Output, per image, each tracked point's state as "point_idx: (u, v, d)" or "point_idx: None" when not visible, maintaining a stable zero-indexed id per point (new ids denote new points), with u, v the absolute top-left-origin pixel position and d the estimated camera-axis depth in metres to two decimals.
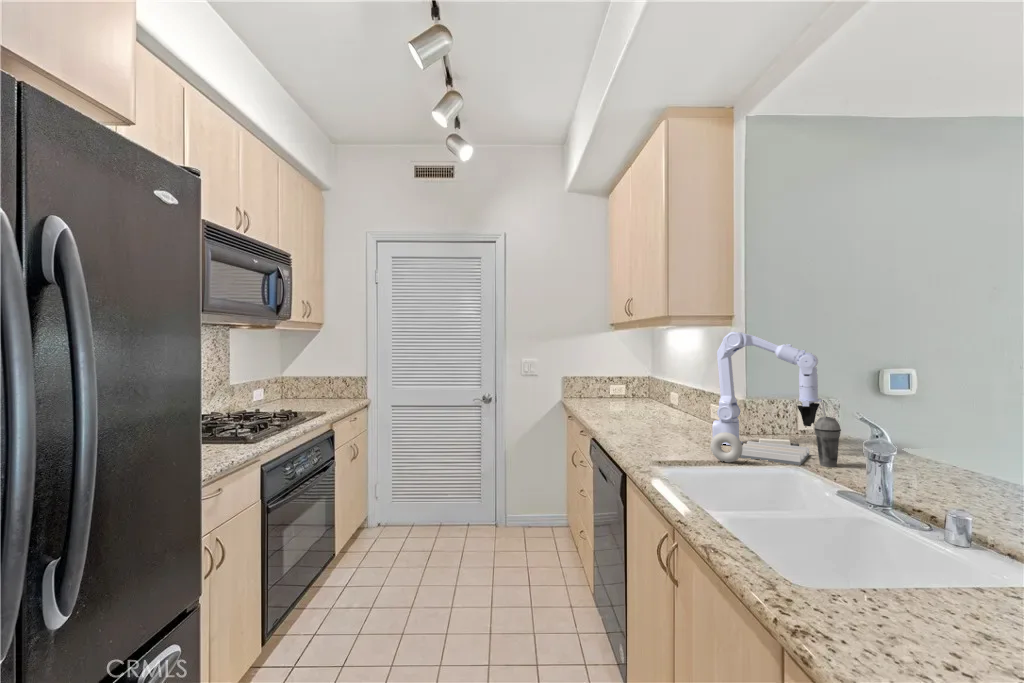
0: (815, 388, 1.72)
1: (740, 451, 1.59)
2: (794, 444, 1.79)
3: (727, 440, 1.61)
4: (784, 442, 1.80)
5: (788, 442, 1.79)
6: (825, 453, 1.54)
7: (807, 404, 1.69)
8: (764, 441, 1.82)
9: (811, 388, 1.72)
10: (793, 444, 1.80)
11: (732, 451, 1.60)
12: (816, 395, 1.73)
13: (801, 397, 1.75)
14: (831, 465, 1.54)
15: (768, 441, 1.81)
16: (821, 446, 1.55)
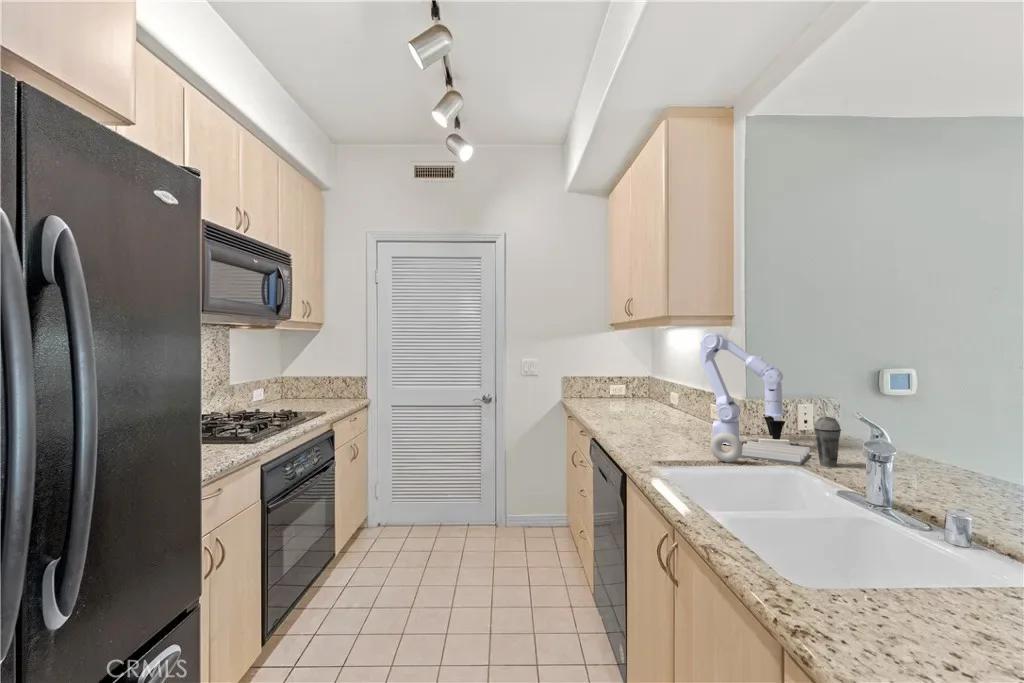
0: (781, 402, 1.80)
1: (740, 451, 1.59)
2: (794, 444, 1.80)
3: (727, 440, 1.61)
4: (784, 442, 1.80)
5: (788, 442, 1.79)
6: (825, 453, 1.54)
7: (779, 418, 1.75)
8: (764, 441, 1.82)
9: (778, 402, 1.79)
10: (793, 444, 1.80)
11: (732, 451, 1.60)
12: (782, 409, 1.80)
13: (769, 411, 1.81)
14: (831, 465, 1.54)
15: (768, 441, 1.81)
16: (821, 446, 1.55)
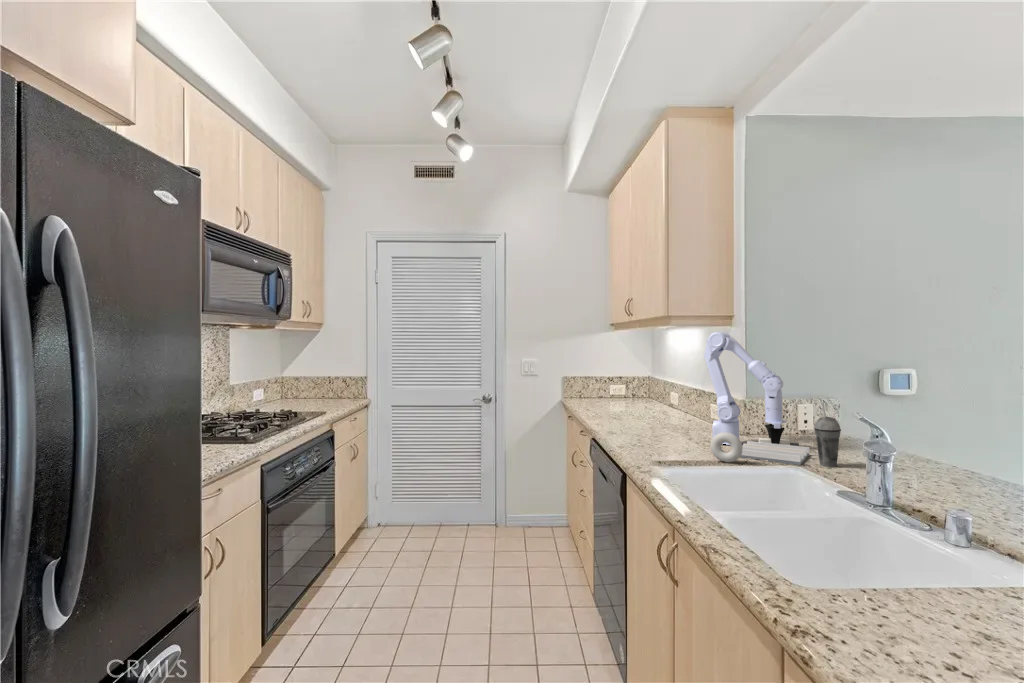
0: (781, 410, 1.80)
1: (740, 451, 1.59)
2: (794, 443, 1.80)
3: (727, 440, 1.61)
4: (784, 441, 1.80)
5: (788, 441, 1.79)
6: (825, 453, 1.54)
7: (779, 426, 1.75)
8: (764, 440, 1.82)
9: (778, 410, 1.79)
10: (793, 443, 1.80)
11: (732, 451, 1.60)
12: (782, 416, 1.80)
13: (769, 419, 1.81)
14: (831, 465, 1.54)
15: (768, 440, 1.81)
16: (821, 446, 1.55)
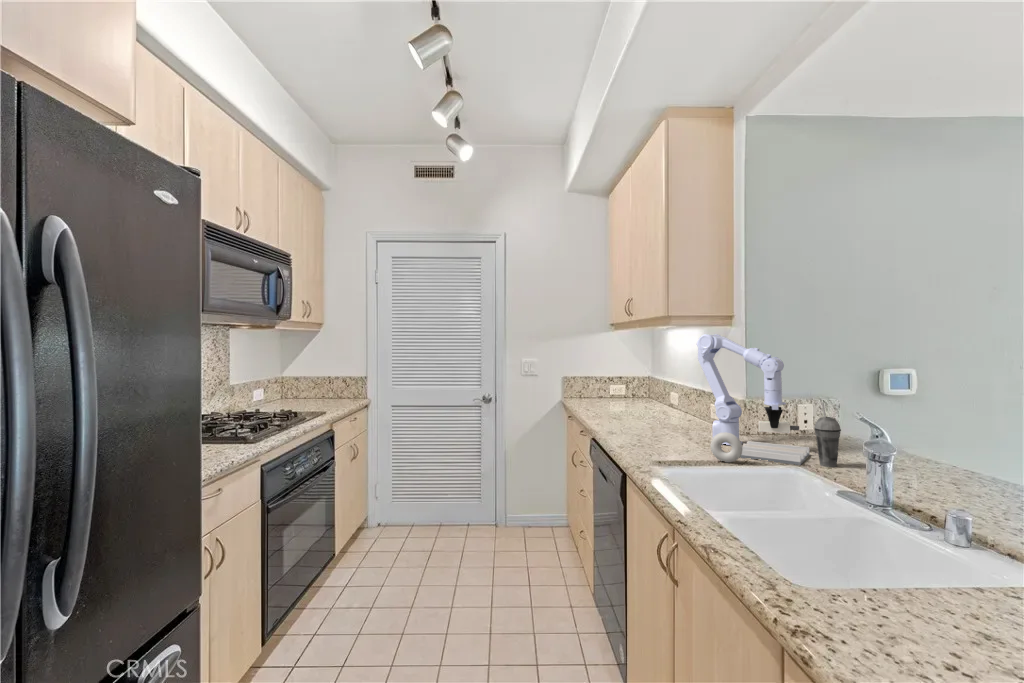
0: (780, 391, 1.77)
1: (740, 451, 1.59)
2: (794, 426, 1.77)
3: (727, 440, 1.61)
4: (783, 424, 1.77)
5: (788, 424, 1.76)
6: (825, 453, 1.54)
7: (777, 407, 1.73)
8: (763, 423, 1.80)
9: (777, 392, 1.77)
10: (793, 426, 1.77)
11: (732, 451, 1.60)
12: (781, 398, 1.78)
13: (767, 401, 1.79)
14: (831, 465, 1.54)
15: (767, 423, 1.79)
16: (821, 446, 1.55)
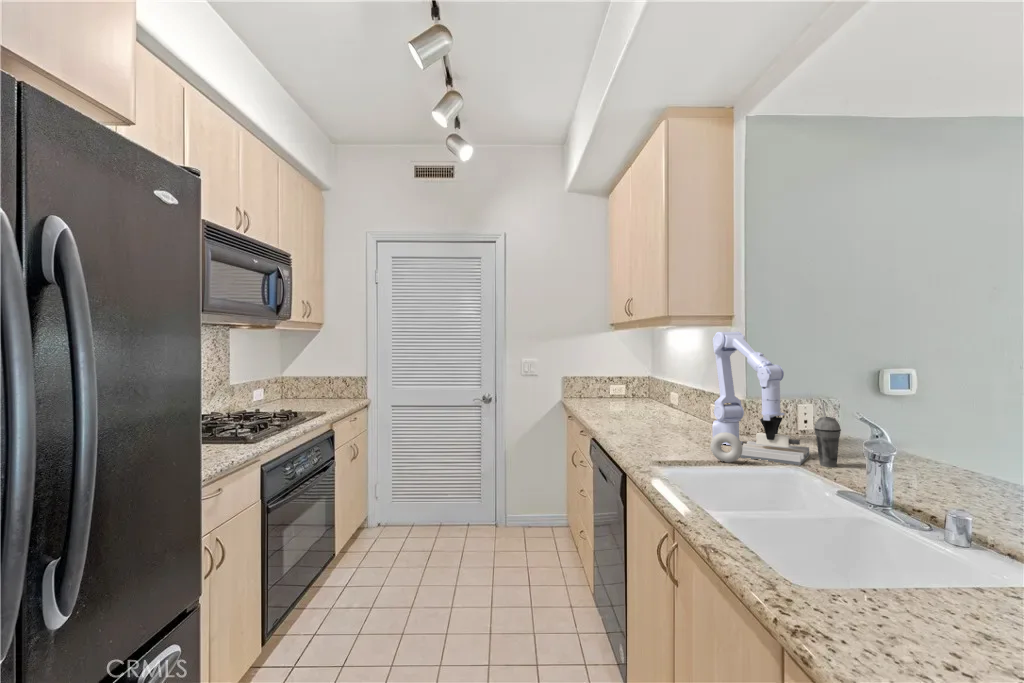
0: (777, 401, 1.68)
1: (740, 451, 1.59)
2: (793, 440, 1.65)
3: (727, 440, 1.61)
4: (781, 437, 1.67)
5: (786, 438, 1.66)
6: (825, 453, 1.54)
7: (768, 418, 1.64)
8: (760, 435, 1.71)
9: (773, 401, 1.67)
10: (792, 440, 1.66)
11: (732, 451, 1.60)
12: (778, 409, 1.68)
13: (763, 410, 1.70)
14: (831, 465, 1.54)
15: (764, 435, 1.70)
16: (821, 446, 1.55)
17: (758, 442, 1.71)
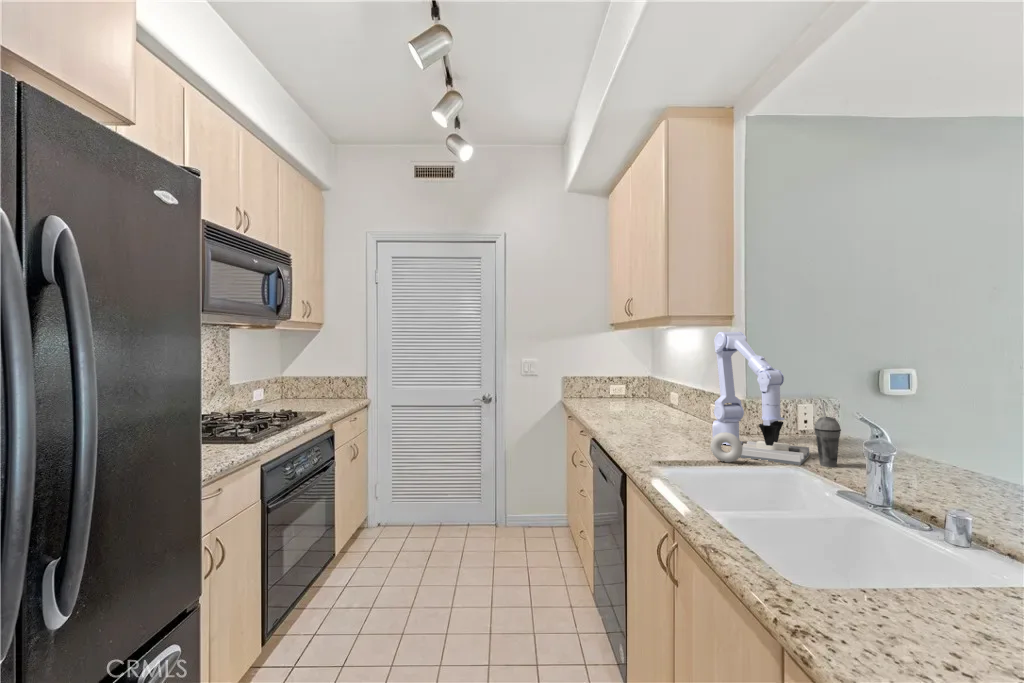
0: (777, 406, 1.68)
1: (740, 451, 1.59)
2: (793, 449, 1.65)
3: (727, 440, 1.61)
4: (781, 446, 1.67)
5: (786, 446, 1.66)
6: (825, 453, 1.54)
7: (768, 423, 1.64)
8: (760, 444, 1.71)
9: (773, 406, 1.67)
10: (792, 449, 1.65)
11: (732, 451, 1.60)
12: (778, 413, 1.68)
13: (763, 415, 1.70)
14: (831, 465, 1.54)
15: (764, 444, 1.70)
16: (821, 446, 1.55)
17: None
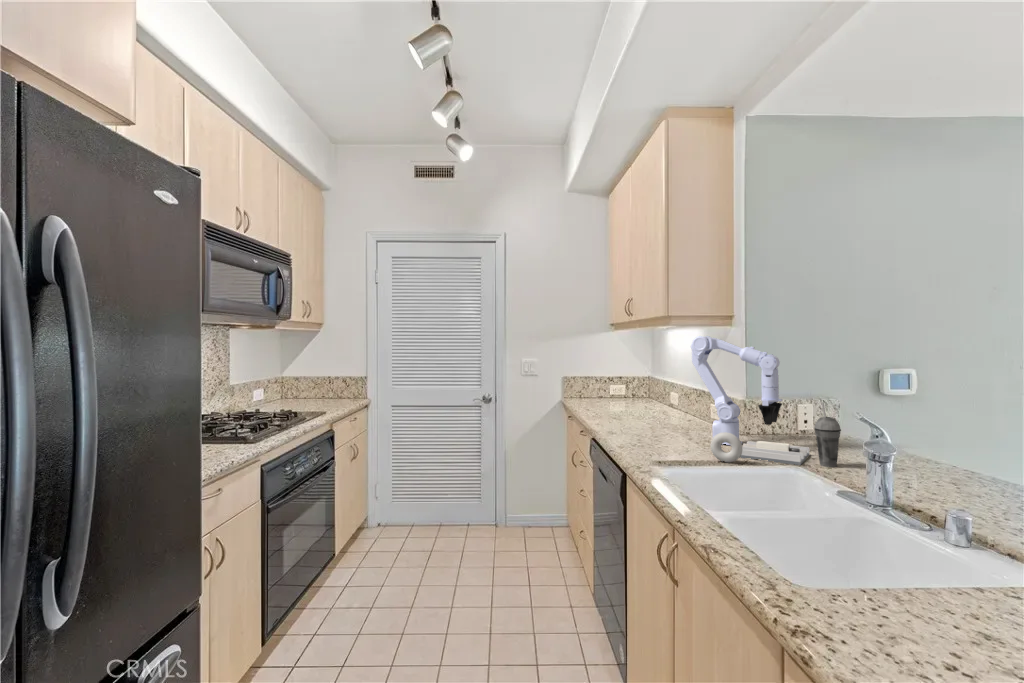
0: (776, 388, 1.80)
1: (740, 451, 1.59)
2: (793, 449, 1.65)
3: (727, 440, 1.61)
4: (781, 446, 1.67)
5: (786, 446, 1.66)
6: (825, 453, 1.54)
7: (766, 403, 1.77)
8: (760, 444, 1.71)
9: (772, 388, 1.80)
10: (792, 449, 1.65)
11: (732, 451, 1.60)
12: (777, 395, 1.81)
13: (763, 397, 1.83)
14: (831, 465, 1.54)
15: (764, 444, 1.70)
16: (821, 446, 1.55)
17: None
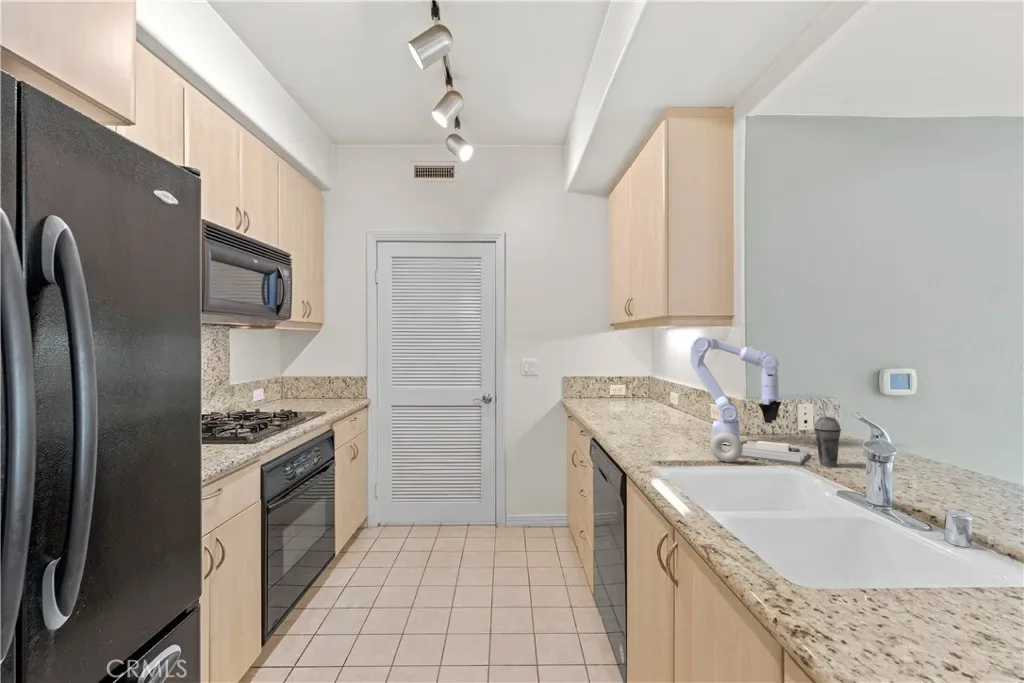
0: (775, 387, 1.84)
1: (740, 451, 1.59)
2: (793, 449, 1.65)
3: (727, 440, 1.61)
4: (781, 446, 1.67)
5: (786, 446, 1.66)
6: (825, 453, 1.54)
7: (767, 402, 1.81)
8: (760, 444, 1.71)
9: (772, 387, 1.84)
10: (792, 449, 1.65)
11: (732, 451, 1.60)
12: (776, 394, 1.84)
13: (763, 396, 1.86)
14: (831, 465, 1.54)
15: (764, 444, 1.70)
16: (821, 446, 1.55)
17: None
